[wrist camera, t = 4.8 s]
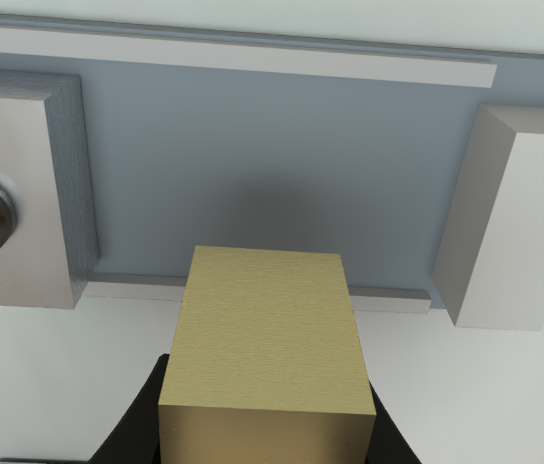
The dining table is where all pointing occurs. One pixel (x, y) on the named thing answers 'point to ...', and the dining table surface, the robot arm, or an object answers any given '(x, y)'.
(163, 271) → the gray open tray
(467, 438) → the dining table surface
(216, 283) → the wooden block
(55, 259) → the free jaw
